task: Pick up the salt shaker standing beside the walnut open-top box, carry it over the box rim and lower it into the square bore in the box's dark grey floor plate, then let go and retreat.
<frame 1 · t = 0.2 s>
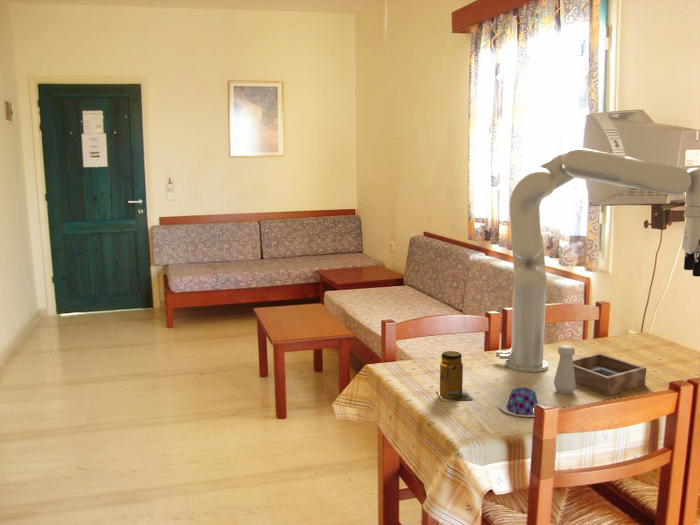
hand: (694, 273, 189), 31 cm above the table, fingers open, 9 cm apart
bore box: (602, 381, 191), on the table
condiment: (454, 396, 181), on the table
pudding: (522, 410, 172), on the table
salt shaker: (564, 392, 184), on the table
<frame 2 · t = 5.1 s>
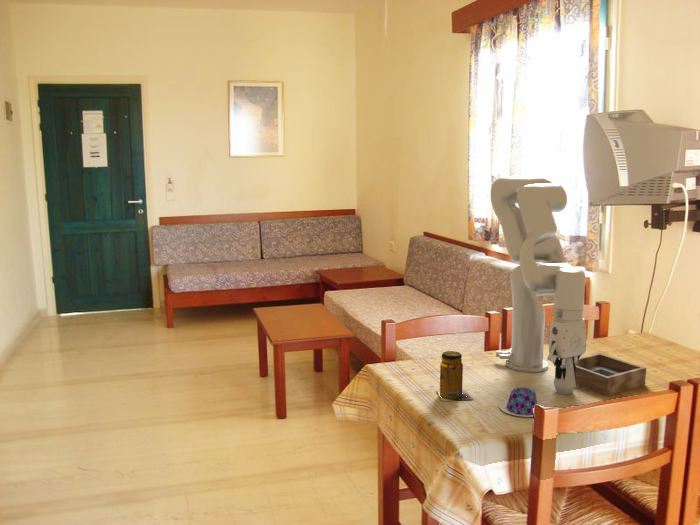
hand: (564, 379, 183), 4 cm above the table, fingers closed on salt shaker, 3 cm apart
salt shaker: (564, 392, 184), on the table, touching gripper
everything else where it was.
when the fingers open (5 cm above the table, at t = 10.4 s): salt shaker stays where it is, resting in bore box.
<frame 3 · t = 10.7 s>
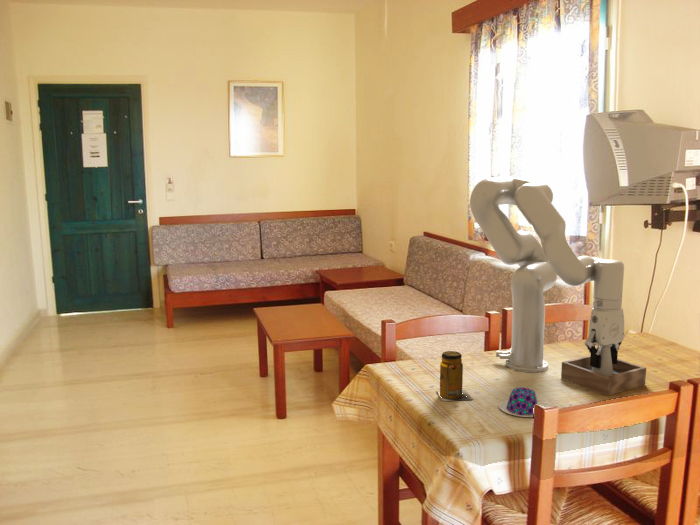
hand: (603, 364, 191), 5 cm above the table, fingers open, 6 cm apart
salt shaker: (601, 382, 191), resting in bore box
everything else where it was.
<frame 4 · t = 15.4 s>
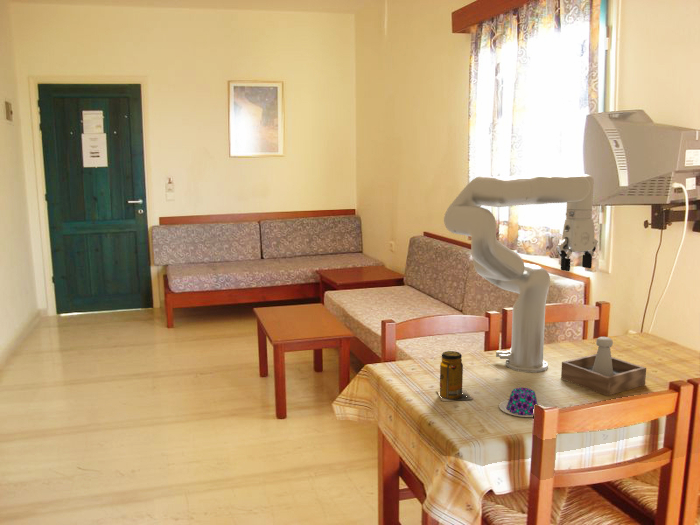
hand: (576, 269, 210), 28 cm above the table, fingers open, 9 cm apart
at the end: salt shaker 0.1 cm off-centre on the bore box, point 0.0 cm above the bore box's base; salt shaker tilted 0°; the gripper is holding nothing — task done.
